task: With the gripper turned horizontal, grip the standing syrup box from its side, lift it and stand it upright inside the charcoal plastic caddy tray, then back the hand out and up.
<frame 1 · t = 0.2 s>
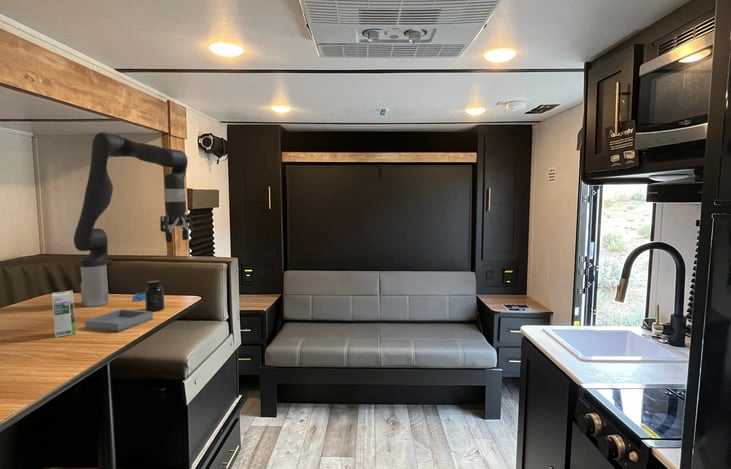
hand: (177, 241, 158), 29 cm above the table, tool pointing down, fingers open, 8 cm apart
caddy tray: (120, 323, 146), on the table
supplement bottle: (155, 310, 165), on the table
handheld gaming device: (144, 298, 186), on the table
syrup box: (65, 334, 136), on the table
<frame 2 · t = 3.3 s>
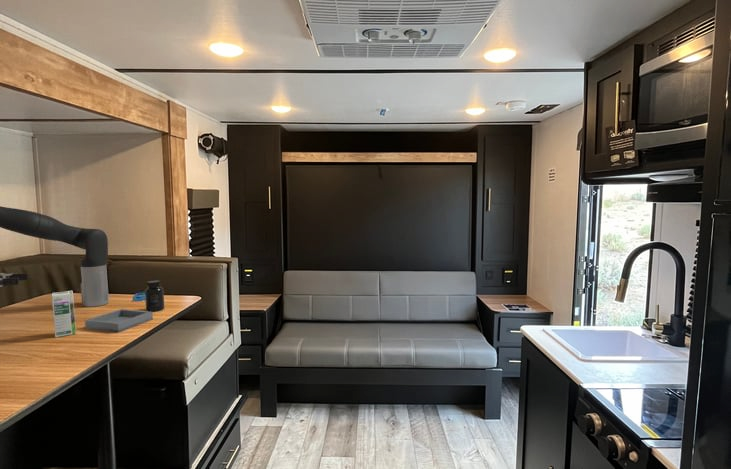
hand: (23, 278, 130), 20 cm above the table, tool horizontal, fingers open, 8 cm apart
nothing on the table moved.
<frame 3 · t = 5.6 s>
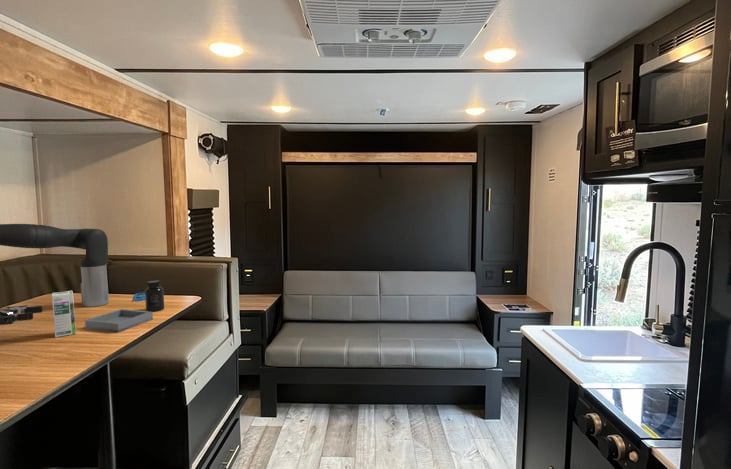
hand: (37, 312, 132), 8 cm above the table, tool horizontal, fingers open, 8 cm apart
nothing on the table moved.
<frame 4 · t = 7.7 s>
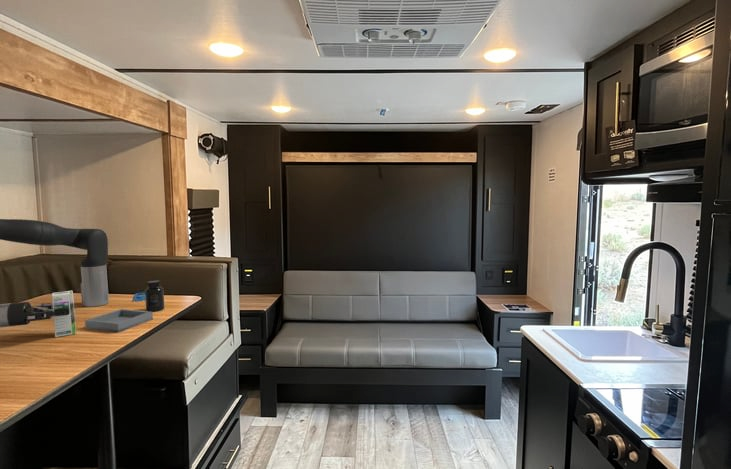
hand: (71, 308, 136), 9 cm above the table, tool horizontal, fingers closed on syrup box, 6 cm apart
syrup box: (65, 334, 136), on the table, touching gripper
everything else where it was.
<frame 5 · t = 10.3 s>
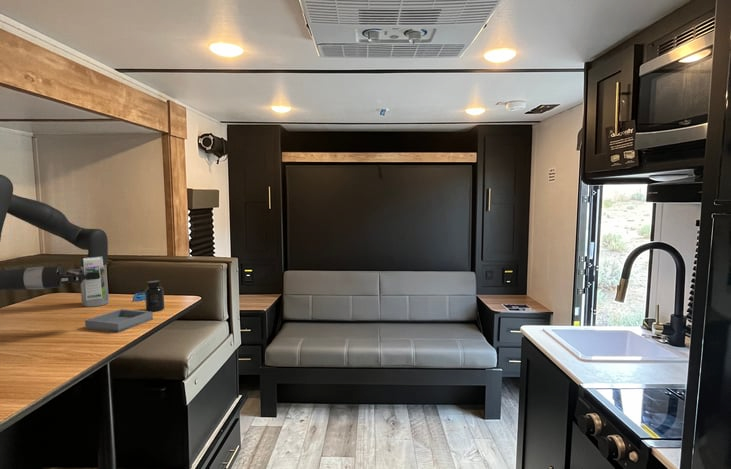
hand: (101, 273, 141), 20 cm above the table, tool horizontal, fingers closed on syrup box, 6 cm apart
syrup box: (95, 298, 141), point 11 cm above the table, touching gripper
everything else where it was.
when the fingers open (10 cm above the table, at t = 13.1 s): syrup box drops 1 cm, resting on caddy tray.
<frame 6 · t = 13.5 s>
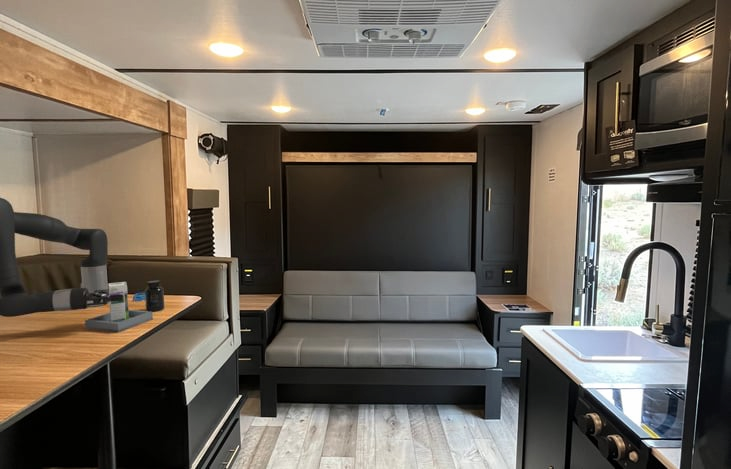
hand: (124, 294, 146), 11 cm above the table, tool horizontal, fingers open, 8 cm apart
syrup box: (120, 322, 146), point 1 cm above the table, touching caddy tray
everything else where it was.
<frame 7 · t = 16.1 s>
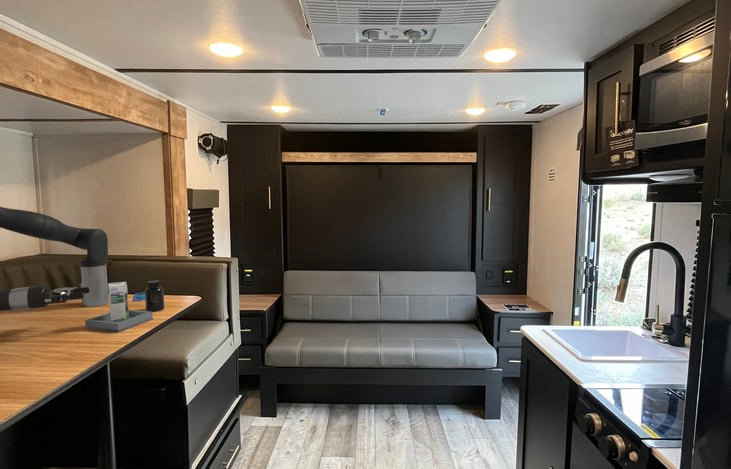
hand: (86, 292, 142), 13 cm above the table, tool horizontal, fingers open, 8 cm apart
nothing on the table moved.
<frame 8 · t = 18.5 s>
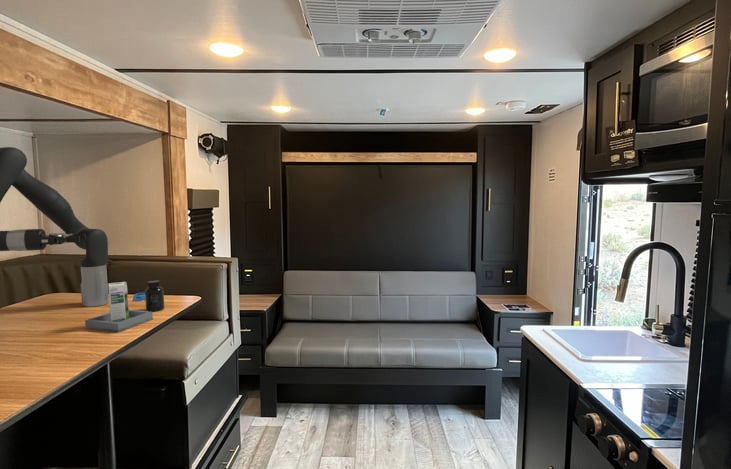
hand: (82, 237, 145), 32 cm above the table, tool horizontal, fingers open, 8 cm apart
nothing on the table moved.
at the end: syrup box inside the target area on the caddy tray (0.2 cm from its centre), point 0.6 cm above the caddy tray's base; syrup box tilted 0°; the gripper is holding nothing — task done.
